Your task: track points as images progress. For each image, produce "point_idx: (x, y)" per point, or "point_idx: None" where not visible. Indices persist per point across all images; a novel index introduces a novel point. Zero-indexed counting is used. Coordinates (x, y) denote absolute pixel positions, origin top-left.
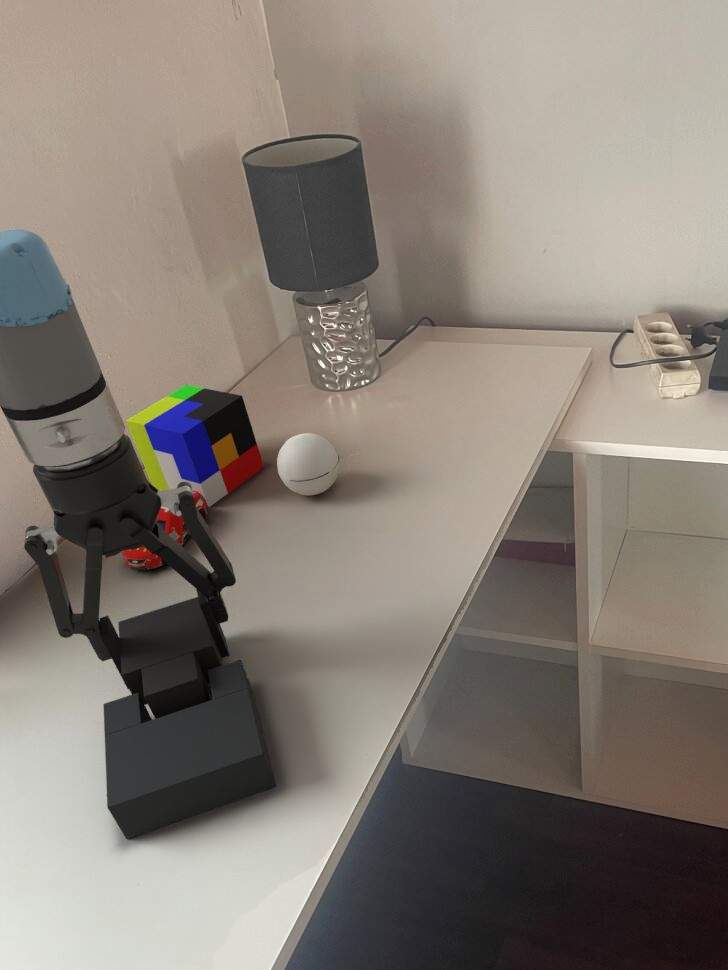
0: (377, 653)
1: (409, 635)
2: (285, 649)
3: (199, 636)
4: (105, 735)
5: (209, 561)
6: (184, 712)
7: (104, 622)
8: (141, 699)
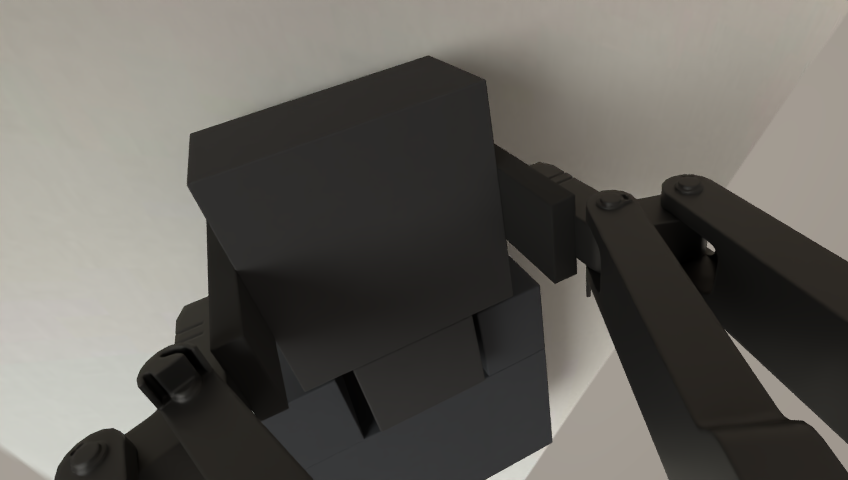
0: (682, 162)
1: (734, 124)
2: (555, 128)
3: (484, 269)
4: None
5: (733, 332)
6: (442, 407)
7: (247, 370)
8: None
